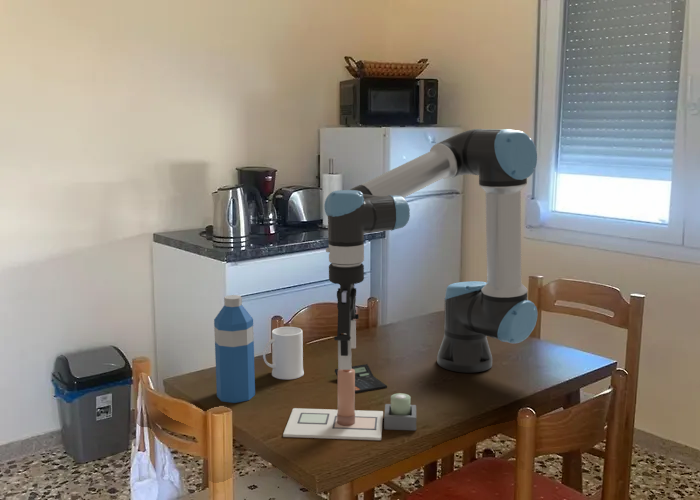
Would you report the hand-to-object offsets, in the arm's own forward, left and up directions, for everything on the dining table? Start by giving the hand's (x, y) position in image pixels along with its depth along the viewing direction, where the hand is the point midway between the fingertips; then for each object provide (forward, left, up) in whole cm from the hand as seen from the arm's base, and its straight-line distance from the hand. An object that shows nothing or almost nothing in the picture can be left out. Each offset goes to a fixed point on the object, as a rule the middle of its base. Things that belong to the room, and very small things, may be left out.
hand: (347, 358), depth 157 cm
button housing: (-12, -2, -16) cm, 20 cm away
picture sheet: (+3, 0, -16) cm, 16 cm away
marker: (0, 0, -15) cm, 15 cm away
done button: (-12, -2, -13) cm, 18 cm away
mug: (+20, -30, -16) cm, 39 cm away
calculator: (-1, -26, -16) cm, 30 cm away
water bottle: (+29, -15, -16) cm, 36 cm away
